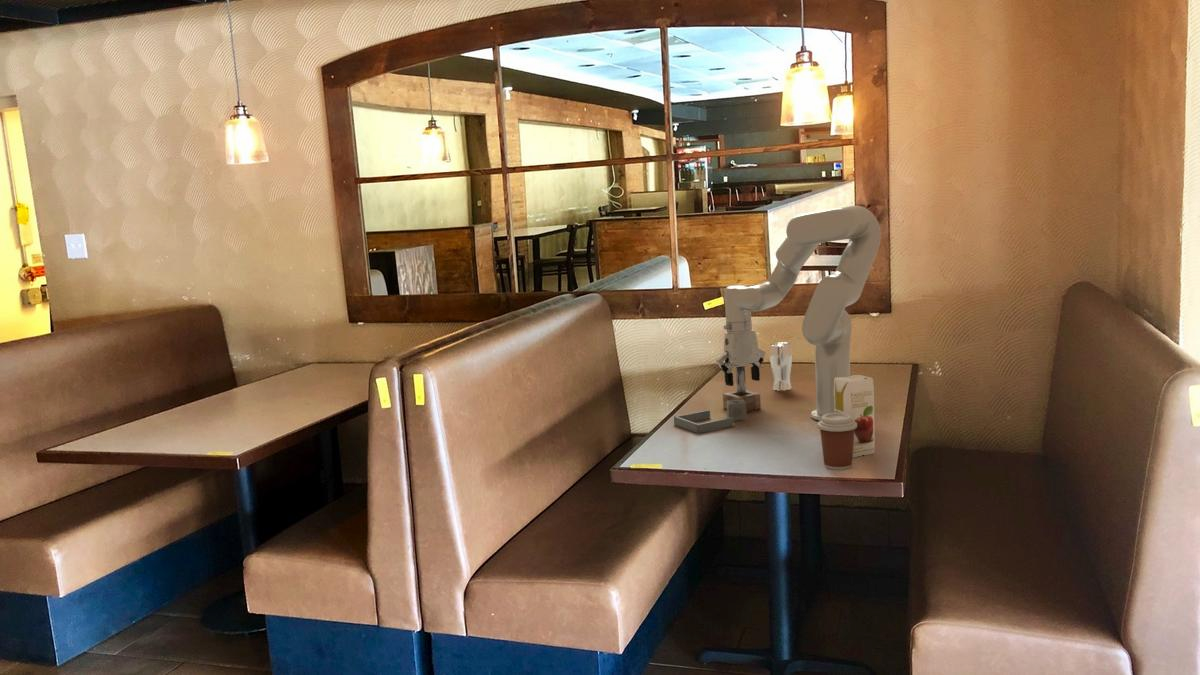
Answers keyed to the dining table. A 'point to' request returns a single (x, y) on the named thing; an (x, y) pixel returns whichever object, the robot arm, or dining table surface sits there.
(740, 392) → the steel pin
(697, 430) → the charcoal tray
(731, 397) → the walnut block
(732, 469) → the dining table surface
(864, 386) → the juice carton
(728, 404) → the dice cube
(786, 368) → the beer glass
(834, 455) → the coffee cup
